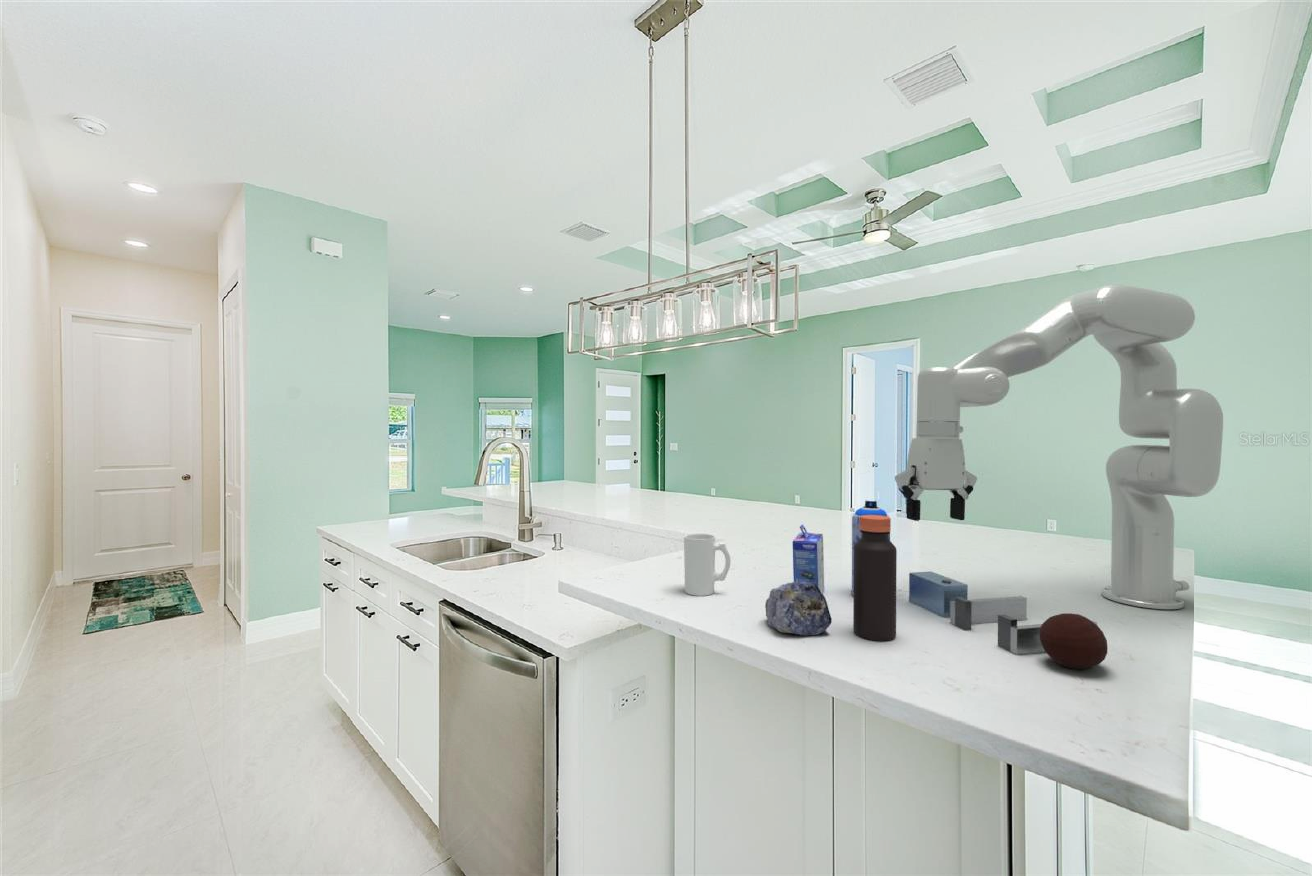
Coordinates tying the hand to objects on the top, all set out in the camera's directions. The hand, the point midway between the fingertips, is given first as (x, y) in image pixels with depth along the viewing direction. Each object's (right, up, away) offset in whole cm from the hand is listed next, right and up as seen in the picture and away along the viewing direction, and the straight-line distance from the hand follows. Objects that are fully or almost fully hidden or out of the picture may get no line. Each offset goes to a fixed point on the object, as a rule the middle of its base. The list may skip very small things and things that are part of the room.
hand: (935, 519), depth 108 cm
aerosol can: (-9, -18, +9) cm, 22 cm away
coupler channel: (+7, -18, -14) cm, 23 cm away
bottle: (-17, -18, -13) cm, 28 cm away
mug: (-43, -18, +11) cm, 48 cm away
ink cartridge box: (-22, -18, +10) cm, 30 cm away
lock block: (+1, -18, 0) cm, 18 cm away
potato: (+7, -18, -26) cm, 33 cm away
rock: (-30, -18, -10) cm, 36 cm away
